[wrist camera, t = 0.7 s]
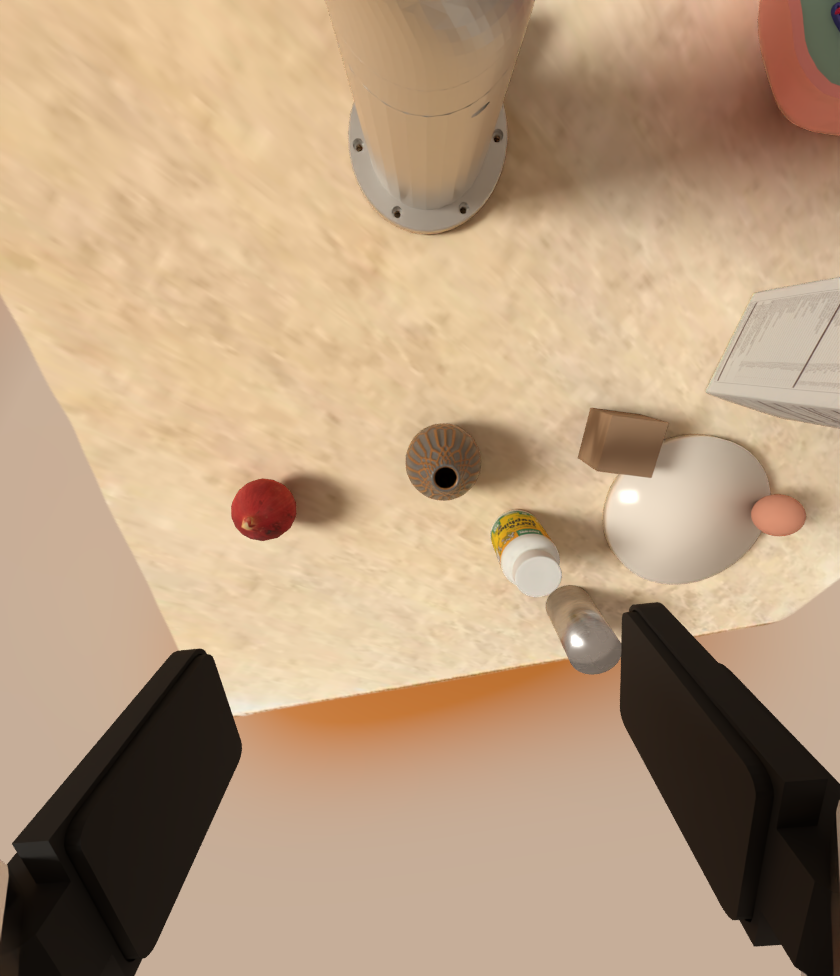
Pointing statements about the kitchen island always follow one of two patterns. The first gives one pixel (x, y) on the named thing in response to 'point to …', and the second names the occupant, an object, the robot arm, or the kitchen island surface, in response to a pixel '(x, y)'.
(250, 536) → the onion
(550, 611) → the steel canister
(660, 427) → the walnut block
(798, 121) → the cell model
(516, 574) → the supplement bottle
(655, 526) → the white plate
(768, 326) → the supplement box
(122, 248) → the kitchen island surface
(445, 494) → the vase
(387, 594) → the kitchen island surface
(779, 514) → the rubber ball
